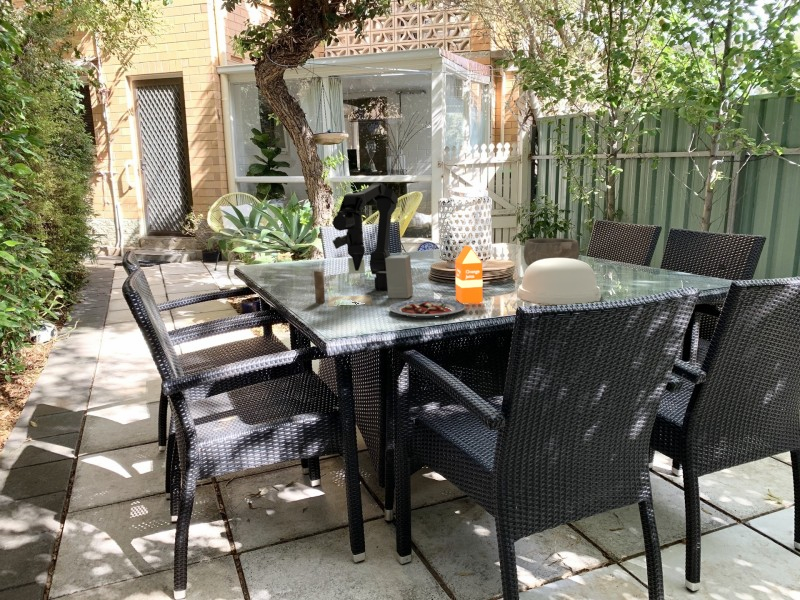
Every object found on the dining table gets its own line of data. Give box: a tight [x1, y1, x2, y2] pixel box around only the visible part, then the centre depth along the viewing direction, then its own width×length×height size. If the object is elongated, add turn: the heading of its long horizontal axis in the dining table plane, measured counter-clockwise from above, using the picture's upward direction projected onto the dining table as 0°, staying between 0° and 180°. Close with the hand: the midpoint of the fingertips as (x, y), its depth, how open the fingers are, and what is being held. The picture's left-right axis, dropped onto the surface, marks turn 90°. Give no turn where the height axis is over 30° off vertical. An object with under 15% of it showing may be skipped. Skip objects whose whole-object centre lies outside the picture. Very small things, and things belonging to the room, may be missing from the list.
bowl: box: [523, 237, 580, 267], centre depth 280 cm, size 24×24×15 cm
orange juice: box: [455, 244, 484, 304], centre depth 224 cm, size 8×9×20 cm
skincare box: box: [385, 254, 414, 299], centre depth 236 cm, size 8×7×16 cm
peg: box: [313, 269, 326, 305], centre depth 229 cm, size 3×3×12 cm
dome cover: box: [517, 258, 602, 305], centre depth 230 cm, size 32×30×14 cm
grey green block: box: [347, 257, 366, 274], centre depth 235 cm, size 6×6×5 cm
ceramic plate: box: [388, 298, 466, 318], centre depth 211 cm, size 26×26×3 cm
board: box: [327, 294, 373, 308], centre depth 232 cm, size 16×18×1 cm
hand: (356, 269), depth 235 cm, fingers closed on grey green block, 6 cm apart
